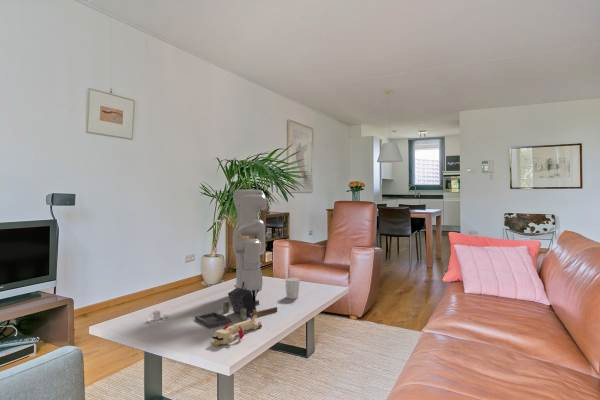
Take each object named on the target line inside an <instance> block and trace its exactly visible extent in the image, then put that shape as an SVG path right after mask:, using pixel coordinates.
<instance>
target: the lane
mask: <svg viewBox="0 0 600 400" xmlns="http://www.w3.org/2000/svg"><path fill="white" fill-rule="evenodd" d="M258 305H260V300H259V299H256V302H255V306H258ZM222 307H223V309H222V311H223V312H222V313H229V312H230V301H229V300H223V303H222ZM277 312H278V307H277V306H275V307H270V308H267V309H266V308H265V309H262V310H257V313H258V315H257V317H256V318H258V317H259V318H260V317H262V316H265V315H270V314H273V313H277ZM253 316H254V314H253V313H251V317H253ZM239 318H240V321H241V322H243V321H247V309H245V308H242V309H240V314H239Z"/></svg>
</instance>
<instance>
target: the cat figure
mask: <svg viewBox="0 0 600 400" xmlns="http://www.w3.org/2000/svg"><path fill="white" fill-rule="evenodd" d="M257 312H258V310H257V309H256V310H253V314H254V316H253V317H252V316H251V317H252V318H251V319H249V320H245V321H241V322H238V323H234V324H232V325H231V326H230V324H231V323H228V324H225V325H224V327H223V328H221V329H218V330H215V331H214V334H213V335H212V339H213V341H212V344H214V346H219V345H227V344H228V345H229V344H231V343H232V342H234V341H235V340H234V339H235V335H237V334H239V335H238V336H239V337H238V338H239V339H238V340H239V341H241V340H243V337H244V335H245V334H244V333H243V332H244V331H248V330H253V329H260V328H263V324H262V321H260V320H259V321H256V319H257V318H258V317H257V315H258V313H257Z"/></svg>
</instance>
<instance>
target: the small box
mask: <svg viewBox="0 0 600 400" xmlns="http://www.w3.org/2000/svg"><path fill="white" fill-rule="evenodd" d="M227 295H228V298H229V300H230V301H229V302H230V304H231V306H232V307H231V308H232V310H233V313H235V314H238V315H240V309H242V308H245V309H247V317H249V316H251V315H252V313H253V310H256V311H257V308H256V305H255V304H254V300H253V297H252V294H251V291H249V290H243V289H241V288H238V287H237V288H236V287H235V288H234V289H233V290H231V291H229V292H228V293H227ZM247 317H246V318H247Z"/></svg>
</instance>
